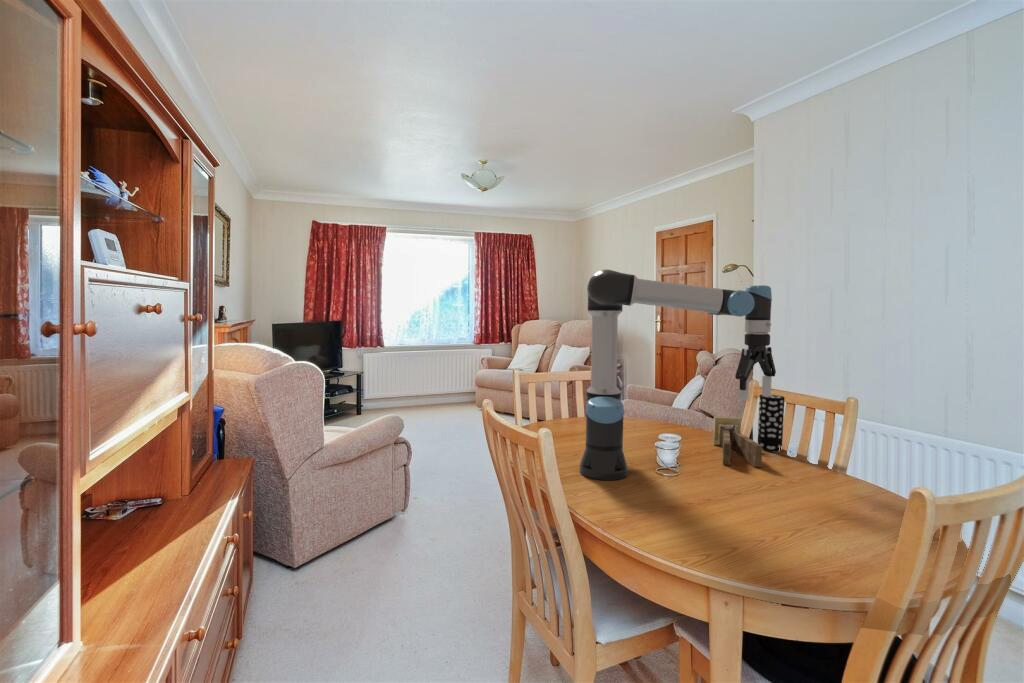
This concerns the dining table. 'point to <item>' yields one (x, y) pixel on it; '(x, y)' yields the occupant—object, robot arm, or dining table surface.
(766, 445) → the white-spotted black cylinder
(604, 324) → the robot arm
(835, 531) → the dining table surface
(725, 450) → the jaw
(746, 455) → the jaw
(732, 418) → the lock cuff
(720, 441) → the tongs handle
